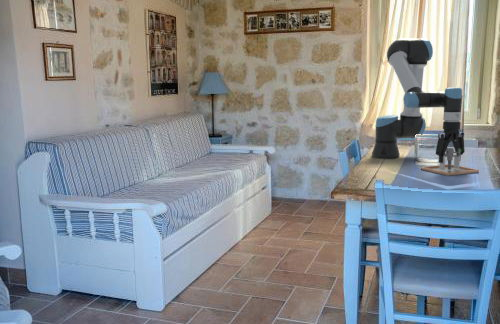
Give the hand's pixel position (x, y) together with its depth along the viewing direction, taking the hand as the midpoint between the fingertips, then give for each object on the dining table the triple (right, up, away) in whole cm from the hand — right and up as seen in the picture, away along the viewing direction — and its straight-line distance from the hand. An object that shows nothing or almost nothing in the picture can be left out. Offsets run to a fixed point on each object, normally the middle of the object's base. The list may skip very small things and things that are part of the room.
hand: (449, 168), depth 228 cm
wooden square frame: (0, -1, 0) cm, 1 cm away
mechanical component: (0, 0, 0) cm, 1 cm away
